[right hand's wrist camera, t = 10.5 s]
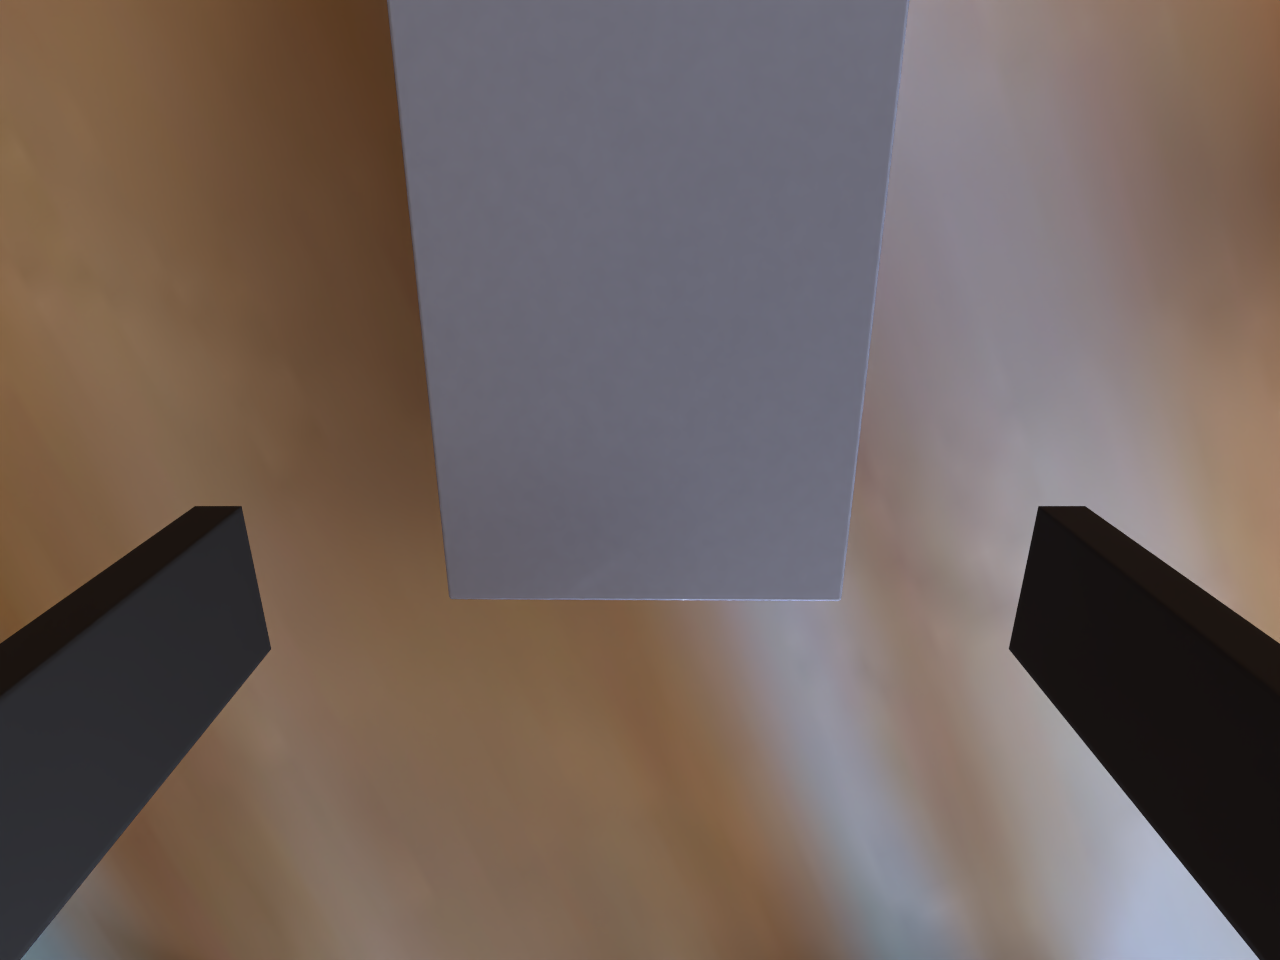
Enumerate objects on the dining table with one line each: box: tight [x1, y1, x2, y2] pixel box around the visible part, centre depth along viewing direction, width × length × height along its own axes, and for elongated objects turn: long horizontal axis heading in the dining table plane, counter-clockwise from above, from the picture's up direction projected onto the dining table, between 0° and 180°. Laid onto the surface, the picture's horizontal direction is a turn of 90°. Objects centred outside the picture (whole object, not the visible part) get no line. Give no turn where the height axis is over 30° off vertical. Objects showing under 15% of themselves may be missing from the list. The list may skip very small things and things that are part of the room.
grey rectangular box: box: [387, 0, 909, 601], centre depth 21 cm, size 20×11×10 cm, turn 0°
